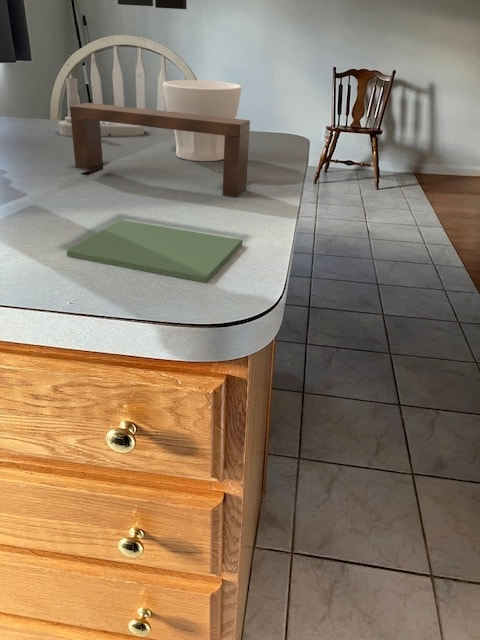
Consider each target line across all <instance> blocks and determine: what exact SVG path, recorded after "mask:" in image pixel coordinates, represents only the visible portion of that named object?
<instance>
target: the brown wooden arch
mask: <svg viewBox="0 0 480 640" xmlns="http://www.w3.org/2000/svg"><path fill="white" fill-rule="evenodd" d="M70 113H71V124H72V135H73V136H72V144H73V154H74V166H75V169H76V168H77V169H83V170H86V171H84V172H81V173H80V175H81V176H90V175H93V174H95V173H98V172H100V171H103V170H104V161H103V147H102V136H101V130H100V121H104V122H113V123H121V124H130V125H138V126H144V127H148V128H157V129H166V130H172V131H174V130H181V131H190V132H199V133H207V134H216V135H224V136H225V141H224V159H223V168H222V169H223V171H222V196H227V197H232V198H238V197H239V196H241V194H243V193H244V192H245V191H246V190H247V181H248V179H247V178H248V165H249V163H248V162H249V146H250V145H249V144H250V127H251V120H250V119H244V118H243V119H241V118H235V119H233V118H224V117H215V116H205V115H196V114H187V113H177V112H168V111H167V110H158V109H149V108H139V107H131V106H120V105H112V104H102V103H94V102H82V103H79V104H77V105H72V106H70Z"/></svg>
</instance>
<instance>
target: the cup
mask: <svg viewBox="0 0 480 640" xmlns="http://www.w3.org/2000/svg"><path fill="white" fill-rule="evenodd" d="M242 88H243V87H242V85H241V84H237V83H233V82H226V81H217V80H203V79H201V80H200V79H172V80H165V81H164V82H163V83H162V89H163V95H164V101H165V107H166V108H165V109H166V111H168V112H177V113H187V114H196V115H205V116H215V117H224V118H233V119H236V118H237V116H238V112H239V104H240V98H241V93H242ZM173 131H174V139H175V145H176V146H175V147H176V148H175V149H176V150H175V153H176V154H175V155H176V157H178V158H179V159H181V160H185V161H192V162H204V163H205V162H207V163H209V162H210V163H211V162H219V161H224V141H225V136H224V135H216V134H207V133H199V132H190V131H181V130H173Z"/></svg>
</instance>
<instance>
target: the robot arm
mask: <svg viewBox="0 0 480 640" xmlns="http://www.w3.org/2000/svg"><path fill="white" fill-rule="evenodd" d="M154 3H155V5H154ZM117 5H119V6H120V5H122V6H138V7H139V6H140V7H154V6H155V9H172V10H187V6H188V4H187V0H117Z"/></svg>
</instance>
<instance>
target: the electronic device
mask: <svg viewBox="0 0 480 640" xmlns="http://www.w3.org/2000/svg"><path fill="white" fill-rule="evenodd" d="M65 79H66V80H65V81H66V94H67V97H66V105H67V116H65V117H64V120H61V121H59V122H58V130H59V131H58V132H59V135H61V136H65V137H73V135H72V124H71V113H70V106H72V105H77V104H80V98H79V89H78V87H79V86H78V79H77V78H72V77H71V78H70V77H69V78H68V77H67V78H65ZM100 130H101V137H121V136H122V137H123V136H124V137H126V136H128V137H129V136H130V137H131V136H141V135H144V134H145V126H138V125H130V124H121V123H113V122H104V121H100Z"/></svg>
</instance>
